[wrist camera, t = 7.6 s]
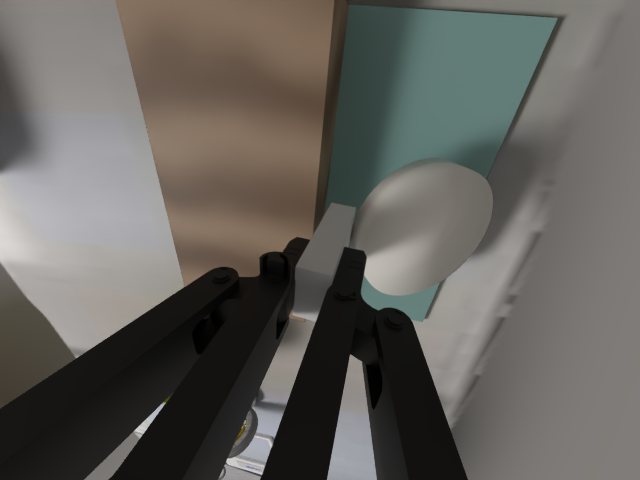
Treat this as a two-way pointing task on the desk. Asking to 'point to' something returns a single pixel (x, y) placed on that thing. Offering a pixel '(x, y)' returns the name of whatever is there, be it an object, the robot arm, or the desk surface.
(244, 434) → the pocket watch
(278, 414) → the desk surface
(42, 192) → the desk surface
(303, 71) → the board
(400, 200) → the white domed disc
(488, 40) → the mat
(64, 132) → the desk surface
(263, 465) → the photo frame
